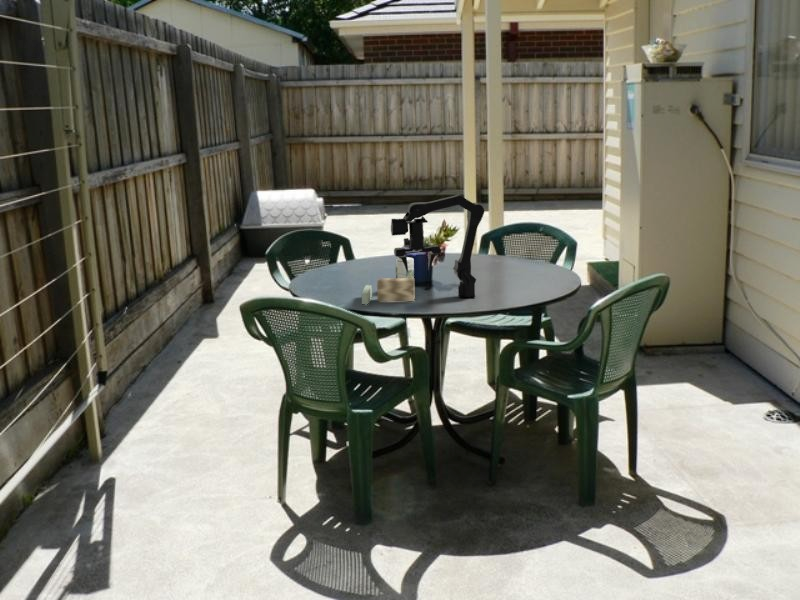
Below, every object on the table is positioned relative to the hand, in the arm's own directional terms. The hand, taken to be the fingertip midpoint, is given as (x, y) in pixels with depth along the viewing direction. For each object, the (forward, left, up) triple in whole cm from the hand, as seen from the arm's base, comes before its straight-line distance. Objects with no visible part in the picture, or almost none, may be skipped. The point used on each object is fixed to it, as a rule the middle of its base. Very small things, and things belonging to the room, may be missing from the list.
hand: (418, 271), depth 360 cm
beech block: (+9, +2, -12) cm, 16 cm away
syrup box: (+7, -17, -12) cm, 22 cm away
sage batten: (+22, +2, -12) cm, 25 cm away
